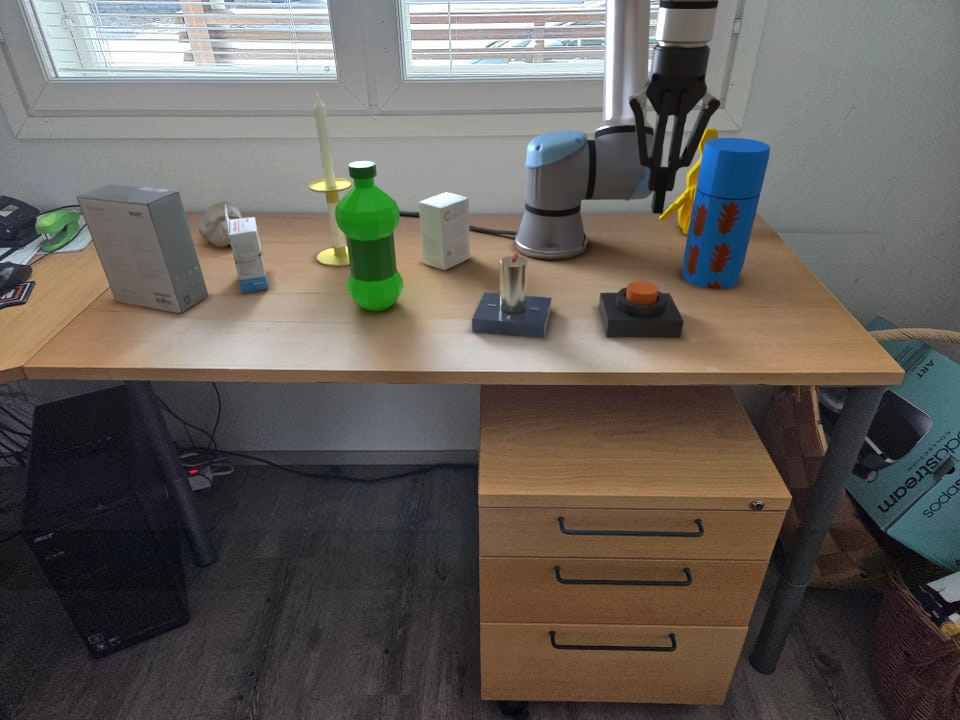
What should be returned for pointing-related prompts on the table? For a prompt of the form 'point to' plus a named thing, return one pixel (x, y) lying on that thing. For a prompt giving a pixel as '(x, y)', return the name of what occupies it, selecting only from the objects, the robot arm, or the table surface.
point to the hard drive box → (144, 246)
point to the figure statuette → (689, 188)
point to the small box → (445, 230)
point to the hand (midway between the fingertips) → (656, 210)
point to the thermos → (724, 211)
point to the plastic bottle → (370, 239)
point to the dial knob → (513, 284)
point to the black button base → (639, 316)
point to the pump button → (642, 292)
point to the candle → (329, 191)
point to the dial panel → (512, 317)
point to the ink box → (247, 253)
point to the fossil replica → (218, 223)
